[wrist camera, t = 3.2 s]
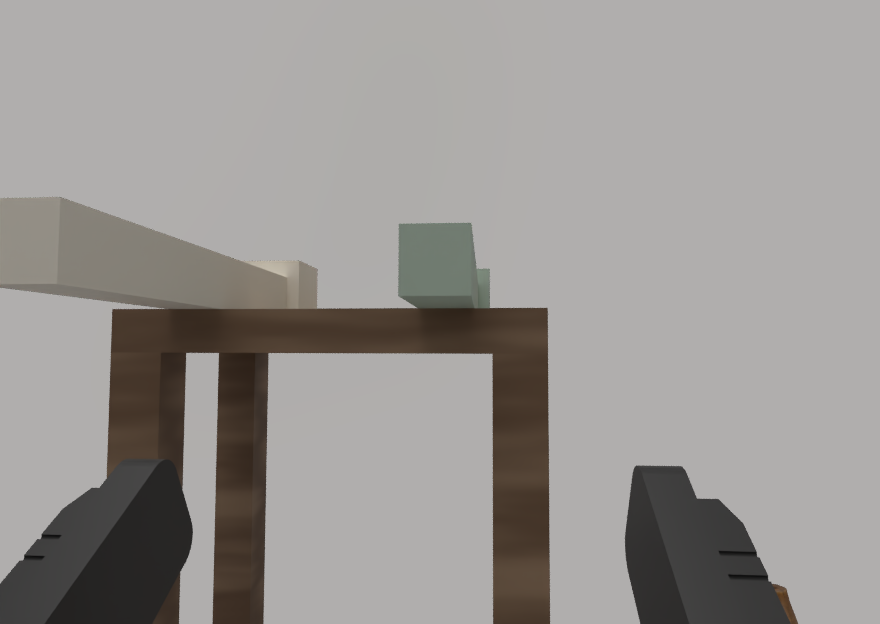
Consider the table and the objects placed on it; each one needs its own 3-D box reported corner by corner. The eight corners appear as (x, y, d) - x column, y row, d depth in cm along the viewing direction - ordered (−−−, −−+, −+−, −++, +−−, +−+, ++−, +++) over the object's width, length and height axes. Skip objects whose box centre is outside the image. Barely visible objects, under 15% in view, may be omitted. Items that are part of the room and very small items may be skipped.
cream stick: (81, 283, 18) (86, 162, 18) (-50, 284, 18) (-44, 165, 18) (316, 321, 42) (317, 269, 42) (257, 321, 42) (258, 269, 42)
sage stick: (493, 295, 21) (493, 193, 22) (376, 296, 22) (377, 195, 22) (489, 324, 45) (489, 275, 46) (433, 324, 46) (433, 276, 46)
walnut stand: (553, 1090, 26) (547, 308, 28) (87, 1044, 27) (112, 309, 29) (532, 830, 40) (529, 322, 42) (224, 810, 41) (234, 322, 43)
